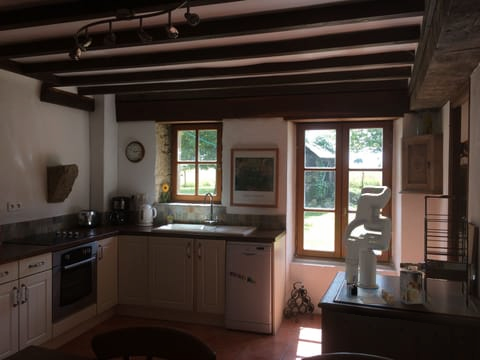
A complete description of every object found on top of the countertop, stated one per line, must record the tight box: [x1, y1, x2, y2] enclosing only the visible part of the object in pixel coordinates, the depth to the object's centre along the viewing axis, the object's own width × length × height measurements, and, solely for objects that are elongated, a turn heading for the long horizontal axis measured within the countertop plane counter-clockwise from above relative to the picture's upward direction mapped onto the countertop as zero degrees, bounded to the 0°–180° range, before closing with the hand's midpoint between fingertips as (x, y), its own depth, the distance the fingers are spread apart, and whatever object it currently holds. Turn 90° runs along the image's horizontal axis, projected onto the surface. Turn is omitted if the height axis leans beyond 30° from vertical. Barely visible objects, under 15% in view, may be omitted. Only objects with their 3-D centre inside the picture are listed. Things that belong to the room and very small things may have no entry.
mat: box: [357, 295, 388, 305], centre depth 199 cm, size 11×12×1 cm
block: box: [345, 285, 359, 298], centre depth 205 cm, size 4×5×6 cm
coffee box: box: [399, 269, 423, 305], centre depth 197 cm, size 9×6×16 cm
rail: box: [381, 289, 395, 305], centre depth 198 cm, size 12×2×4 cm, turn 179°
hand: (351, 292), depth 204 cm, fingers open, 9 cm apart
